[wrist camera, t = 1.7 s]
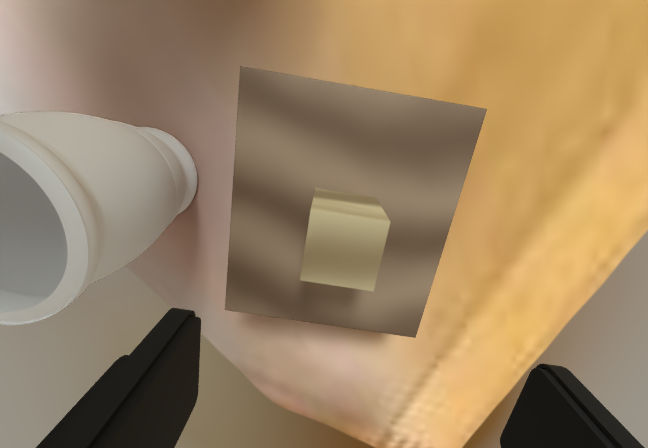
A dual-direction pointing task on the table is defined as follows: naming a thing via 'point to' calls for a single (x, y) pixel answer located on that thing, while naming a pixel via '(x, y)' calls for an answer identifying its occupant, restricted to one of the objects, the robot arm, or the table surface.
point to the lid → (342, 200)
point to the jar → (80, 204)
